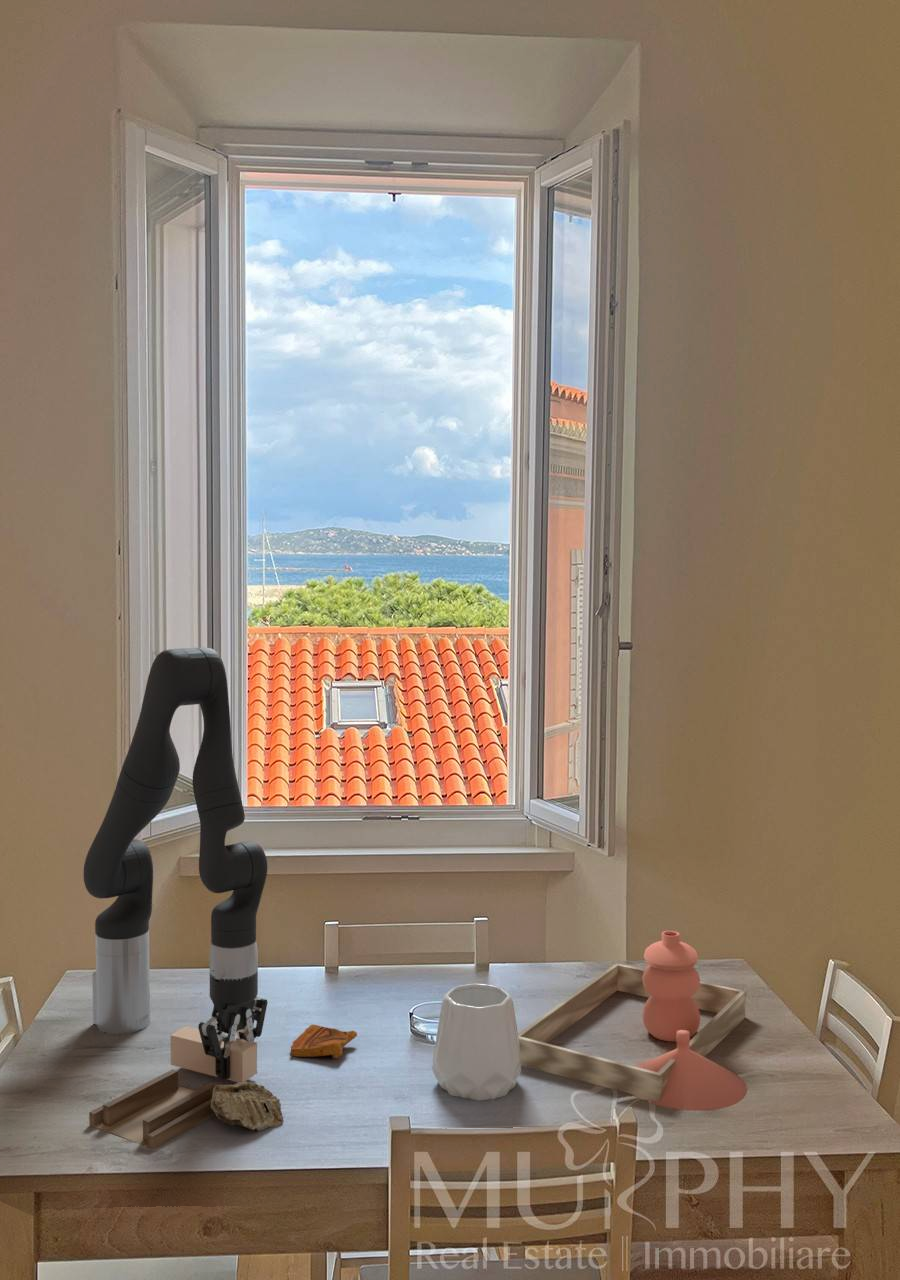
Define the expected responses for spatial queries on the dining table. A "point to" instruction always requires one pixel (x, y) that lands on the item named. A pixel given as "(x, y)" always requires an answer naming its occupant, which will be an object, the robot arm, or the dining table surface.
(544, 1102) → the dining table surface
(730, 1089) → the ceramic vessels
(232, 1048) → the peach rectangular block
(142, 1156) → the dining table surface
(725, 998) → the vessel tray frame
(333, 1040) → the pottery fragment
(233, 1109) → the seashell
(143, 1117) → the tray
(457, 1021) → the vase
